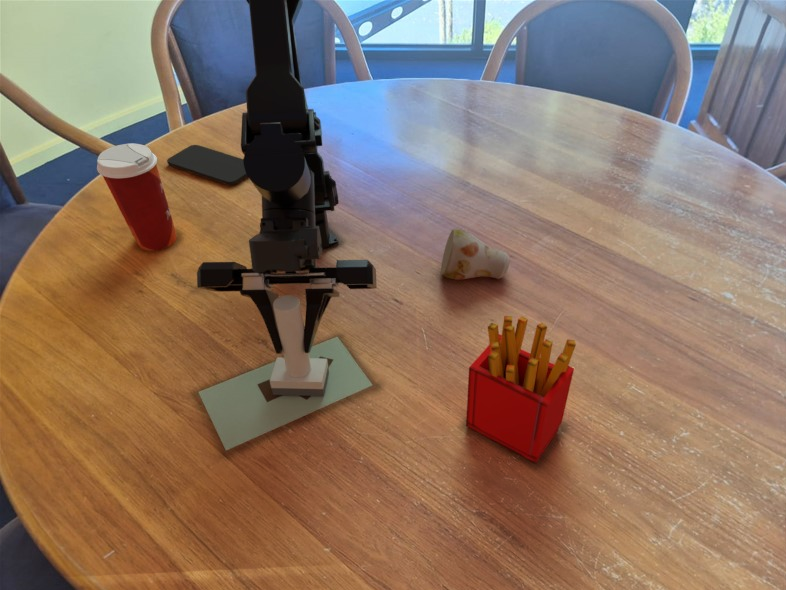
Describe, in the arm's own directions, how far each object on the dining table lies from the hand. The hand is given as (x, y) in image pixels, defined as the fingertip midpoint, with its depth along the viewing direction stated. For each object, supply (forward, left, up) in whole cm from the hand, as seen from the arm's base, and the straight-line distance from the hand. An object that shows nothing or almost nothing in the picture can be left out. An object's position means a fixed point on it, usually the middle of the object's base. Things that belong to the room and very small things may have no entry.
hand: (293, 353), depth 70 cm
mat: (-1, -2, -7) cm, 7 cm away
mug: (-8, +30, -7) cm, 32 cm away
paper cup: (-40, -7, -7) cm, 41 cm away
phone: (-57, +7, -7) cm, 58 cm away
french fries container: (+18, +18, -7) cm, 27 cm away
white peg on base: (-1, 0, -6) cm, 6 cm away
